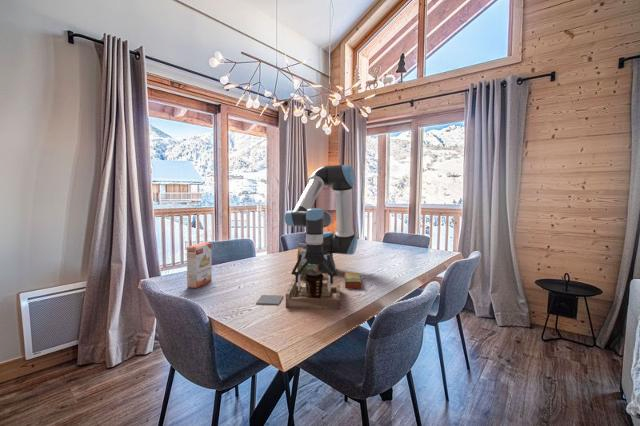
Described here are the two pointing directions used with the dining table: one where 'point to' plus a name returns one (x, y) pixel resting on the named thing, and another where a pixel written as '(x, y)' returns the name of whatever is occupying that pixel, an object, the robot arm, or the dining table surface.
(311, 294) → the coffee cup
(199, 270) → the cracker box
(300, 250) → the milk carton
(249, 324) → the dining table surface
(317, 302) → the brown wooden tray
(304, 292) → the offcut stack
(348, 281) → the carton
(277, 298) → the coaster
